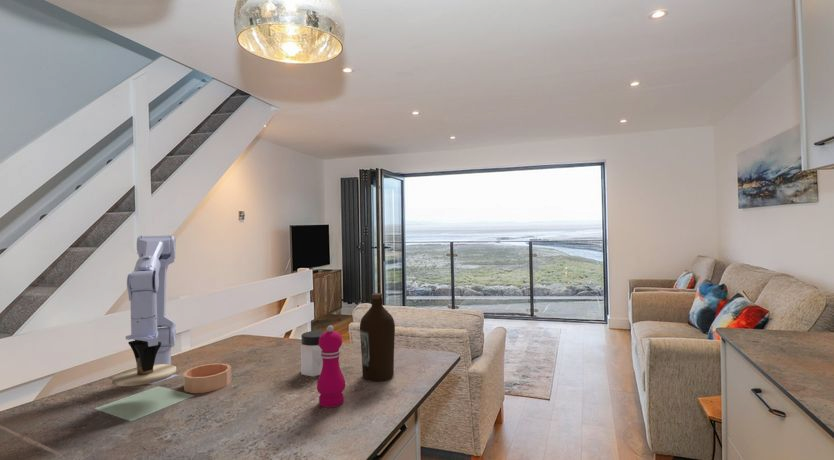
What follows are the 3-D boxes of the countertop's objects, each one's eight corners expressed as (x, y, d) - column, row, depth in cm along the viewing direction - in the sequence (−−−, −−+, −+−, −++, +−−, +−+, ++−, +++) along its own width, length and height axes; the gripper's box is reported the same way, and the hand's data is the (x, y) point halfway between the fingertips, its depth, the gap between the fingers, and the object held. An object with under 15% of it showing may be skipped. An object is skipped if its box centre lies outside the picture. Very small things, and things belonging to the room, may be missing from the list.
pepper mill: (350, 398, 109) (349, 323, 109) (336, 410, 102) (335, 329, 102) (326, 395, 111) (325, 321, 111) (311, 406, 104) (310, 327, 104)
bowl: (174, 389, 117) (174, 374, 116) (212, 375, 127) (212, 361, 127) (202, 397, 111) (202, 380, 111) (239, 381, 122) (239, 366, 122)
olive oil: (389, 367, 132) (387, 290, 132) (400, 379, 122) (399, 295, 122) (356, 373, 128) (355, 292, 127) (366, 385, 118) (364, 298, 118)
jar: (305, 378, 124) (304, 339, 123) (297, 371, 130) (296, 333, 130) (333, 372, 128) (333, 334, 128) (324, 365, 135) (323, 329, 135)
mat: (94, 410, 104) (94, 408, 104) (158, 387, 118) (158, 386, 118) (131, 423, 97) (131, 421, 97) (194, 397, 111) (194, 395, 111)
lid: (100, 381, 104) (99, 362, 104) (156, 364, 117) (155, 347, 117) (132, 389, 98) (132, 369, 98) (188, 371, 111) (187, 353, 111)
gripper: (118, 315, 109) (119, 366, 109) (134, 323, 100) (135, 379, 100) (148, 311, 114) (149, 359, 115) (166, 318, 105) (167, 371, 105)
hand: (145, 368), depth 107 cm, fingers closed on lid, 3 cm apart
